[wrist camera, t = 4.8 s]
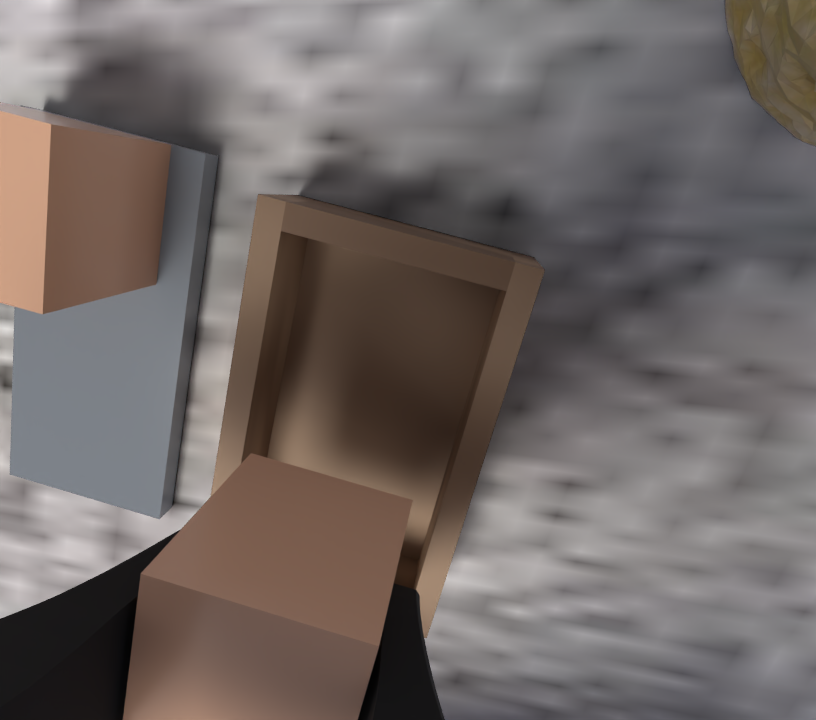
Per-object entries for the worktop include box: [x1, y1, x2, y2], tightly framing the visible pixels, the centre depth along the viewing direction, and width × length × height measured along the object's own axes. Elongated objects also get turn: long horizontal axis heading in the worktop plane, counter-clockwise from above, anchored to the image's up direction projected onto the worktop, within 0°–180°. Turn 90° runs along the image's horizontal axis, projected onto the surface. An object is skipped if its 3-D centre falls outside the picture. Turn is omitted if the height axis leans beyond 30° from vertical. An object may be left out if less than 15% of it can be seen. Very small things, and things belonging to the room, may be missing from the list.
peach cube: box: [123, 453, 413, 720], centre depth 12 cm, size 4×4×4 cm
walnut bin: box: [211, 194, 545, 638], centre depth 16 cm, size 11×7×3 cm, turn 166°
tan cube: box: [0, 102, 171, 314], centre depth 14 cm, size 4×4×4 cm
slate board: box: [10, 106, 219, 519], centre depth 18 cm, size 12×6×1 cm, turn 166°
